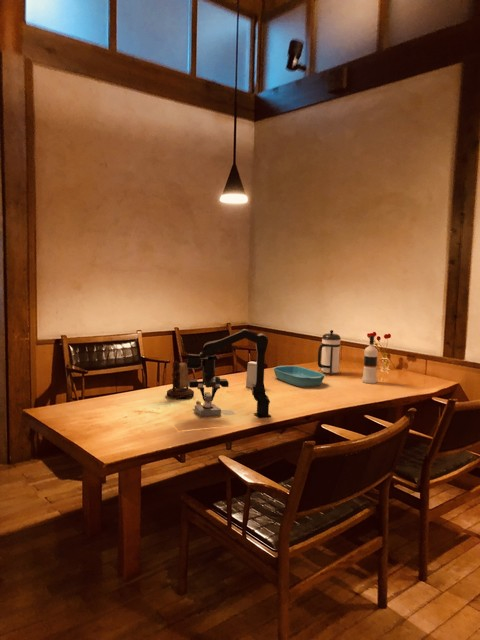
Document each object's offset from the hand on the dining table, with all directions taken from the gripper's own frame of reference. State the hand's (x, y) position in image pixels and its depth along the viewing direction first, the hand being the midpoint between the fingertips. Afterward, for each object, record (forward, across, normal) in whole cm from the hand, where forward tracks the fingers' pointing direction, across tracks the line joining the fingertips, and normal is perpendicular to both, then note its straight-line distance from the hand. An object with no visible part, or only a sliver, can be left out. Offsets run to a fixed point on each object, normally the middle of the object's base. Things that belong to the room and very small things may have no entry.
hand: (208, 400), depth 250 cm
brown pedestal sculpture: (+7, -10, +36) cm, 38 cm away
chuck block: (+7, -1, +5) cm, 9 cm away
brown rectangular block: (+6, 0, 0) cm, 6 cm away
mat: (+7, +10, +1) cm, 12 cm away
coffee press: (+7, +96, +85) cm, 129 cm away
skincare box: (+7, +36, +53) cm, 65 cm away
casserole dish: (+8, +68, +65) cm, 94 cm away
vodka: (+7, +113, +59) cm, 128 cm away
